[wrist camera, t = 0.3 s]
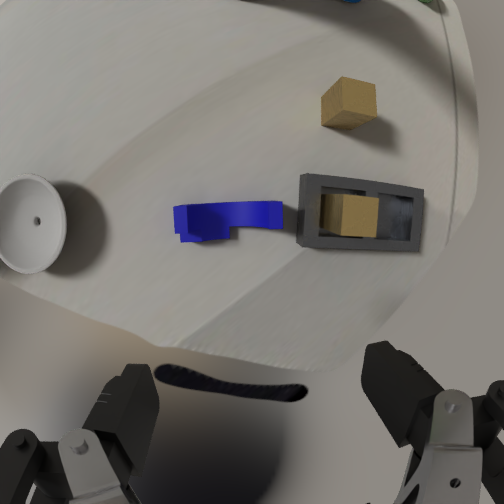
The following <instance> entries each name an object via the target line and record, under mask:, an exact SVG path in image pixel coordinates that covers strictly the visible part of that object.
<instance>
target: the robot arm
mask: <svg viewBox="0 0 504 504" xmlns="http://www.w3.org/2000/svg"><path fill="white" fill-rule="evenodd" d="M361 384H362V388H363V391H364V393H365V394H366V396H367V397H368V399H369V400H370V402H371V404H372V405H373V407H374V408H375V410H376V412H377V413H378V415H379V416H380V418H381V419H382V421H383V423H384V424H385V426H386V428H387V429H388V431H389V433H390V434H391V436H392V437H393V439H394V441H395V442H396V444H397V445H398V447H399V448H401V447H403V446H406V445H408V444H411V445H412V447H413V448H412V451H411V453H410V456H409V460H408V464H407V468H406V471H405V475H404V478H403V482H402V485H401V488H400V491H399V493H398V496H397V498H396V500H395V502H394V503H393V504H479V498H480V489H481V481H482V483H483V484H484V486H485V488H486V489H487V491H488V492H489V494H490V496H491V497H492V499H493V500H494V502H495V504H504V445H503V444H502V442H501V441H500V440H499V439H498V437H497V435H498V434H499V432H500V431H501V429H503V430H504V380H499V381H495V382H493V383H492V384H491V385H490V386H489V389H488V391H487V393H486V395H482V396H477V397H472V398H470V397H469V396H468V395H467V394H466V393H464V392H462V391H459V390H454V389H449V390H444V389H443V388H442V387H441V386H440V385H439V384H438V383H437V382H436V381H435V380H434V379H433V377H432V376H431V375H429V374H428V372H426V370H424V368H423V367H422V366H421V365H420V364H418V363H417V361H416V360H415V359H414V358H413V357H412V356H411V355H409V354H407V353H405V352H403V351H400V350H396V349H395V348H394V347H393V346H392V345H391V344H390V343H389V342H388V341H381V342H377V343H372V344H368V345H367V347H366V350H365V356H364V363H363V369H362V375H361ZM158 413H159V396H158V393H157V390H156V387H155V384H154V380H153V377H152V373H151V370H150V367H149V366H148V365H147V364H127V365H126V367H125V369H124V370H123V372H122V374H121V376H115V377H114V378H113V379H111V380H110V381H109V382H108V383H107V384H106V385H105V387H104V389H103V390H102V392H101V395H100V396H99V397H98V399H97V402H96V403H95V405H94V406H93V408H92V410H91V412H90V414H89V416H88V418H87V420H86V421H85V423H84V425H83V427H82V429H75V430H71V431H69V432H67V433H66V434H64V435H63V436H62V438H61V439H60V441H59V442H40V441H39V440H38V438H37V437H36V435H35V434H34V433H33V432H32V431H30V430H27V429H19V430H16V431H14V432H12V433H10V435H8V437H7V438H6V439H5V441H4V443H3V444H2V446H1V448H0V504H25V502H26V499H27V496H28V494H29V492H30V489H31V487H32V484H33V483H34V484H35V485H36V486H37V487H36V489H35V492H34V494H33V497H32V499H31V502H30V504H141V502H140V501H139V499H138V498H137V496H136V495H135V493H134V491H133V490H132V488H131V486H130V485H129V484H128V481H129V478H130V475H133V476H139V477H142V473H143V469H144V465H145V461H146V457H147V453H148V449H149V446H150V442H151V438H152V434H153V431H154V427H155V423H156V419H157V416H158ZM367 504H370V503H367Z"/></svg>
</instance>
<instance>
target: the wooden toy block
mask: <svg viewBox="0 0 504 504" xmlns="http://www.w3.org/2000/svg"><path fill="white" fill-rule="evenodd" d="M376 117H377V106H376V90H375V84H371V83H367V82H364V81H360V80H355V79H351V78H347V77H341V78H340V79H339V80H338V81H337V82H336V83H335V84H334V85H333V86H332V87H331V88H330V89H329V90H328V91H327V92H326V93H325V94H324V95H323V96H322V97H321V126H327V127H334V128H340V129H346V130H352V129H354V128H356V127H358V126H360V125H362V124H364V123H366V122H368V121H370V120H372V119H374V118H376Z"/></svg>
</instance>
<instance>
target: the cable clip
mask: <svg viewBox="0 0 504 504" xmlns="http://www.w3.org/2000/svg"><path fill="white" fill-rule="evenodd" d="M173 211H174V227H175V234H178V233H180V240H181V242H201V241H207V240H214V239H226V238H230V233H229V226H255V227H264V228H268V229H283V208H282V202H281V201H247V202H224V203H204V204H188V205H179V206H174V207H173Z"/></svg>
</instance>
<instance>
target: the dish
mask: <svg viewBox="0 0 504 504" xmlns="http://www.w3.org/2000/svg"><path fill="white" fill-rule="evenodd" d="M39 218H40V220H41V224H39V223H38V219H39ZM66 233H67V217H66V211H65V207H64V204H63V201H62V199H61V197H60V195H59V193H58V191H57V190H56V189H55V187H54V186H53V185H52V184H51V183H50V182H49V181H47V180H46V179H44V178H43V177H41V176H38V175H35V174H21V175H18V176H15V177H13V178H12V179H10V180H9V181H7V182H6V183H5V184H4V185H3V186H2V187H1V189H0V258H1V259H2V261H3V262H4V263H5V264H6V265H7V266H9V267H10V268H11V269H13V270H15V271H17V272H20V273H24V274H34V273H38V272H41V271H43V270H45V269H47V268H48V267H49V266H51V265H52V264H53V263H54V261H55V260H56V259H57V258H58V256H59V254H60V253H61V251H62V248H63V246H64V243H65V239H66Z"/></svg>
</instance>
